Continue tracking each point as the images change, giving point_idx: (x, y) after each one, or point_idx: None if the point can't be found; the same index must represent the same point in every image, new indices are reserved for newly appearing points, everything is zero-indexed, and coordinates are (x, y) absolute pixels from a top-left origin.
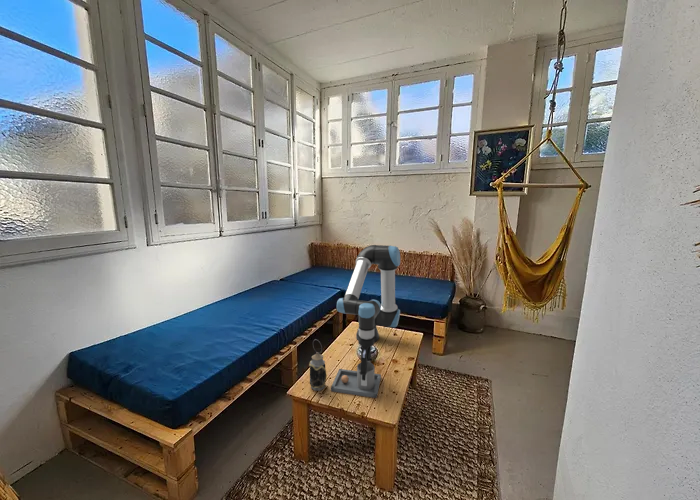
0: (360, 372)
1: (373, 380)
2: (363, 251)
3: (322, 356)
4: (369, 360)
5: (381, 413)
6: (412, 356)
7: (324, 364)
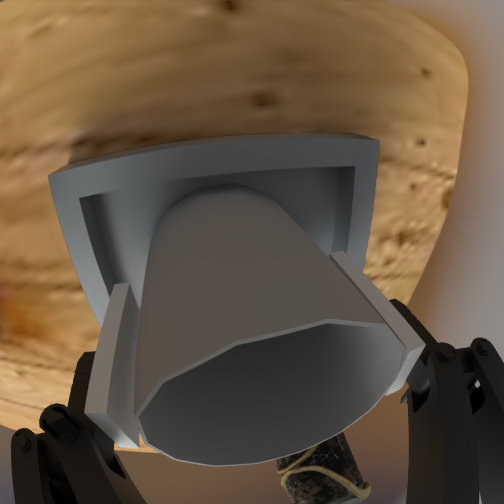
0: (469, 391)
1: (264, 213)
2: None
3: None
4: (87, 428)
5: (446, 102)
6: None
7: (331, 499)
